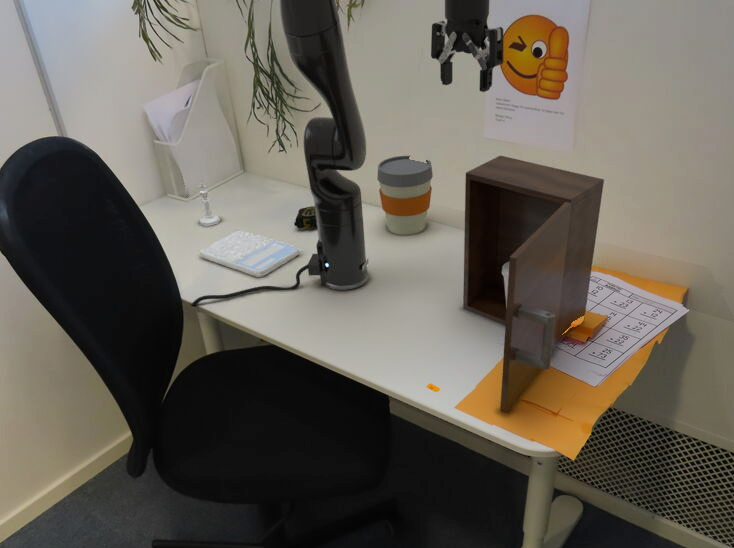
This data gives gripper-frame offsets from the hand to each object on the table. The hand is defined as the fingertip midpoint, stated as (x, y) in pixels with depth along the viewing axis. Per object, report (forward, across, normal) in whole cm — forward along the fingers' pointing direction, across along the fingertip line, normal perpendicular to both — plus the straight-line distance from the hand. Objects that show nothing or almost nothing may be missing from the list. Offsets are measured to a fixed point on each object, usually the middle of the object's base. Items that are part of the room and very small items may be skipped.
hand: (465, 87), depth 125 cm
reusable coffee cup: (+36, -22, +7) cm, 43 cm away
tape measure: (+36, -42, -7) cm, 56 cm away
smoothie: (+35, +21, -11) cm, 43 cm away
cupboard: (+36, +21, -9) cm, 43 cm away
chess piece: (+36, -64, -20) cm, 76 cm away
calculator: (+36, -40, -26) cm, 60 cm away
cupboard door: (+36, +36, -24) cm, 56 cm away
